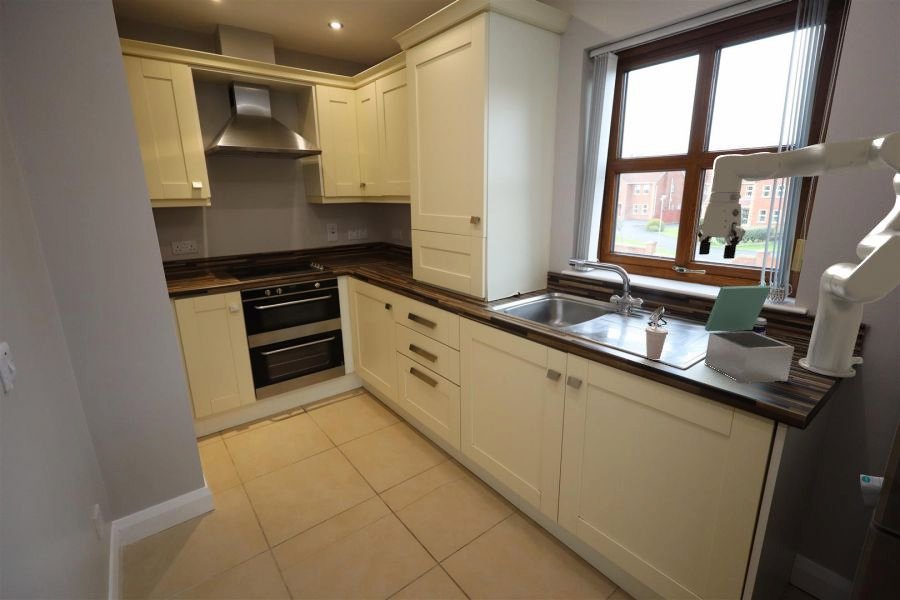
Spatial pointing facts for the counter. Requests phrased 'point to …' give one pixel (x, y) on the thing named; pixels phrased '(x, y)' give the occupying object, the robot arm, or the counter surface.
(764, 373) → the grey open box
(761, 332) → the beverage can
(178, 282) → the counter surface
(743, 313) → the lid
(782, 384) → the counter surface
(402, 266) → the counter surface
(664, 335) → the smoothie
